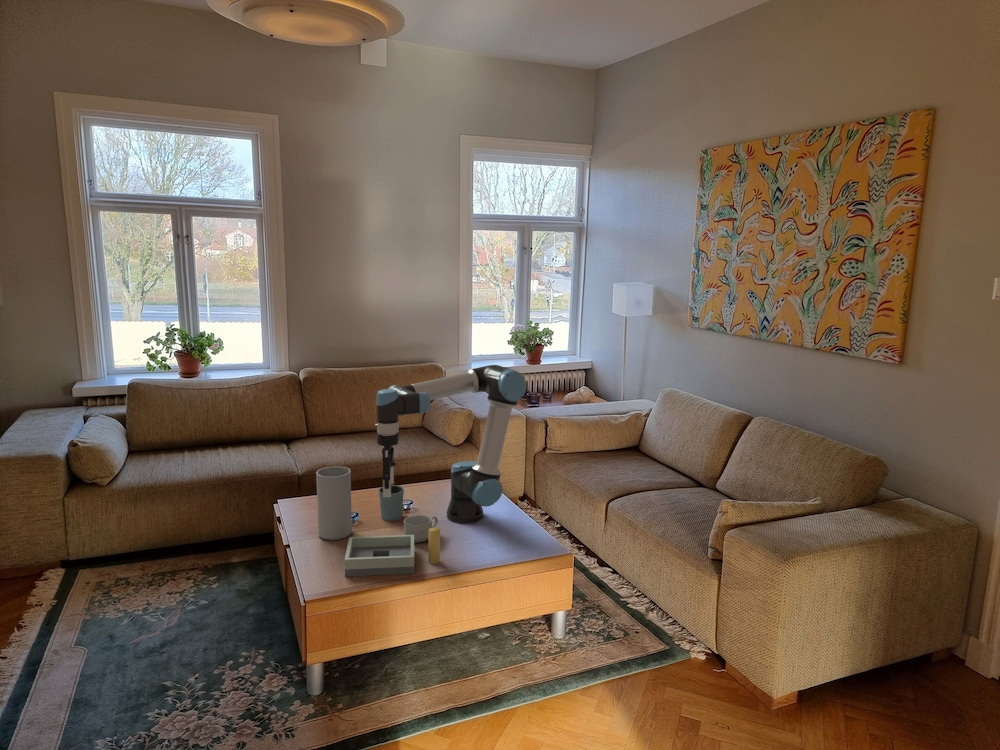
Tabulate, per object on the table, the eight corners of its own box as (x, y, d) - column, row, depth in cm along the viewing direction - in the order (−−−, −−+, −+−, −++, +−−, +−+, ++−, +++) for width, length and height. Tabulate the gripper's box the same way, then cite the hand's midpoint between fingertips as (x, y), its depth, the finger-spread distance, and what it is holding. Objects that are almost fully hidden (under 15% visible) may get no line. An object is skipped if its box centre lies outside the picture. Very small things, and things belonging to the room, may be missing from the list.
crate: (414, 550, 243) (414, 534, 242) (414, 573, 225) (414, 556, 224) (349, 552, 240) (349, 537, 239) (344, 576, 222) (344, 559, 221)
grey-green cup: (401, 511, 279) (401, 483, 277) (406, 520, 270) (406, 492, 268) (377, 513, 276) (377, 486, 274) (381, 523, 267) (380, 494, 264)
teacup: (409, 547, 245) (409, 527, 244) (399, 536, 255) (399, 516, 253) (444, 540, 251) (444, 520, 250) (433, 530, 261) (433, 510, 259)
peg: (439, 559, 236) (439, 527, 234) (440, 564, 232) (440, 531, 230) (428, 559, 236) (428, 527, 234) (428, 564, 232) (428, 532, 230)
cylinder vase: (343, 542, 248) (341, 478, 244) (312, 538, 251) (310, 475, 246) (357, 529, 260) (355, 467, 256) (327, 526, 263) (325, 465, 258)
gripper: (380, 424, 248) (381, 478, 252) (373, 443, 223) (374, 502, 227) (400, 424, 248) (401, 478, 252) (396, 442, 224) (396, 502, 228)
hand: (388, 490), depth 240 cm, fingers open, 13 cm apart
